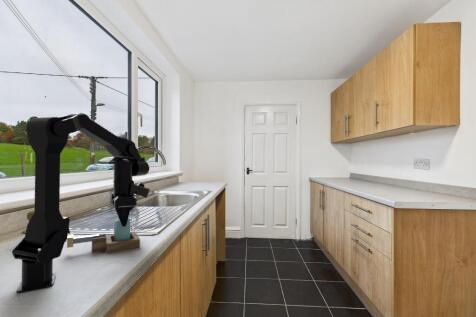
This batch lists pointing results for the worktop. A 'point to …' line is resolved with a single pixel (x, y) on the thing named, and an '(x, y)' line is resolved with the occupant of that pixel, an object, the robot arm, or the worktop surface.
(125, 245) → the dock
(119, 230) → the peg
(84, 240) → the lock bolt
